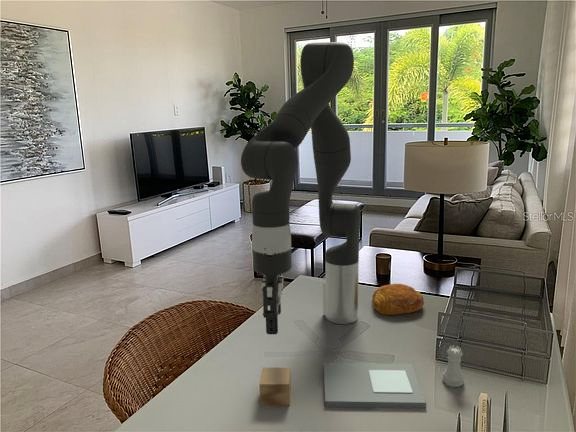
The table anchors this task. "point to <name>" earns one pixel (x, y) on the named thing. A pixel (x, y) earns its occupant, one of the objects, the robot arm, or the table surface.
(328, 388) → the board
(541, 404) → the table surface
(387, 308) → the croissant
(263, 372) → the walnut block
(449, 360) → the rook chess piece
